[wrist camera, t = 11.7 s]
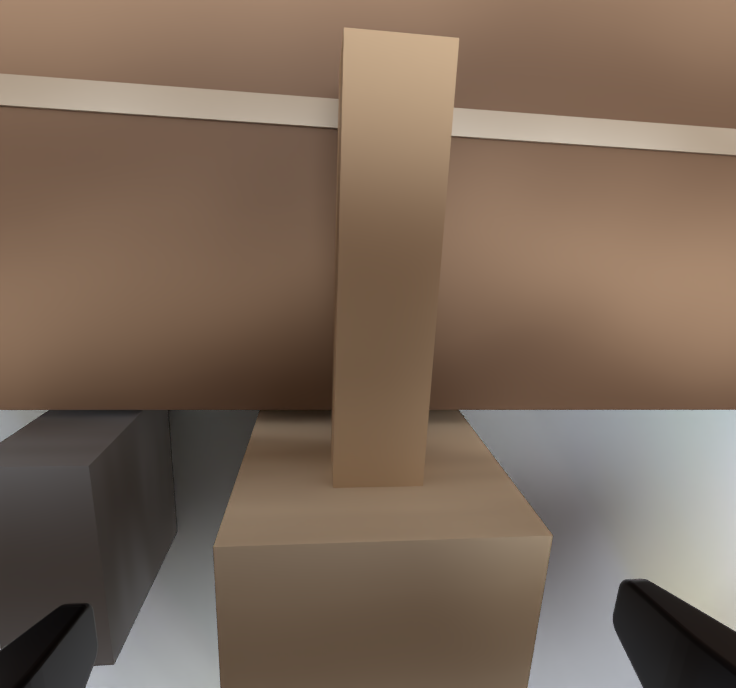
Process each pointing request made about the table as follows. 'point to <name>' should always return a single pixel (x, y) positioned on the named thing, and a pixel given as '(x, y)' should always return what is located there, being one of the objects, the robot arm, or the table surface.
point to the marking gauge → (380, 443)
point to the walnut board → (331, 240)
